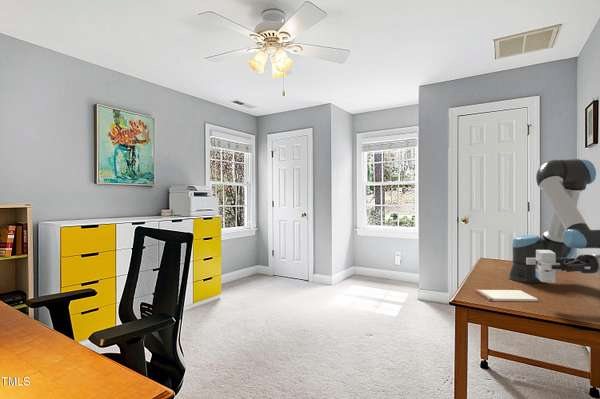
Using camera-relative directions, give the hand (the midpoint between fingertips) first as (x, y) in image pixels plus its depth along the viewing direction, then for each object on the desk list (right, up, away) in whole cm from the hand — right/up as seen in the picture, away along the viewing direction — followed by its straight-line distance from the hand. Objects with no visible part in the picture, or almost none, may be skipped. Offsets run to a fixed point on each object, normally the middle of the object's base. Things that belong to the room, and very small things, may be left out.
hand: (534, 263), depth 138 cm
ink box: (+5, -7, 0) cm, 8 cm away
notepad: (-4, -17, +14) cm, 22 cm away
